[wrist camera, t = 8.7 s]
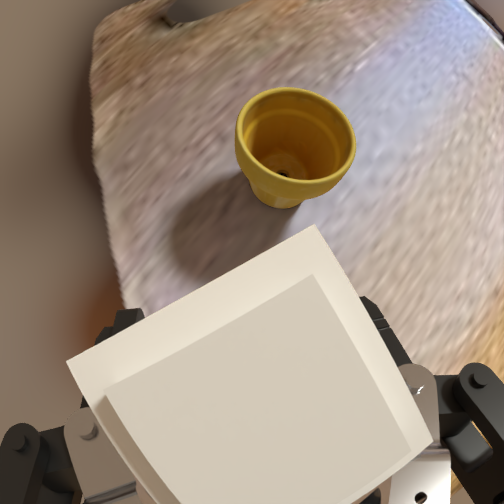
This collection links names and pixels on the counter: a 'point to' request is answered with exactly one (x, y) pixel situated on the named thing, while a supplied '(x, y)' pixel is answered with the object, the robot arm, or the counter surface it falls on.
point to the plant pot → (292, 145)
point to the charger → (257, 388)
